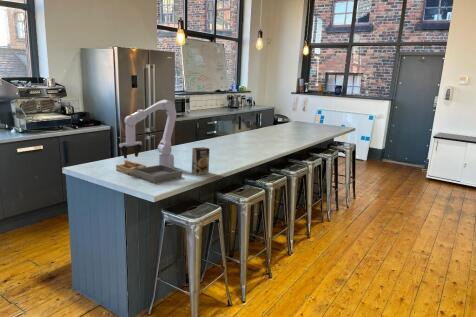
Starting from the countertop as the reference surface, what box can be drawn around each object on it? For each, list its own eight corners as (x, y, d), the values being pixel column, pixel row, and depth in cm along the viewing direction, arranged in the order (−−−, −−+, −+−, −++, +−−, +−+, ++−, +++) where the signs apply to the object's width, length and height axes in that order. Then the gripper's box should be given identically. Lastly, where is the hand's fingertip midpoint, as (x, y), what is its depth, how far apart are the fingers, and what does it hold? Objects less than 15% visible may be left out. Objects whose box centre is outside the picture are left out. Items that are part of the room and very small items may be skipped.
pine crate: (134, 167, 236) (134, 158, 235) (146, 171, 227) (146, 162, 226) (116, 170, 226) (116, 161, 225) (127, 174, 218) (127, 165, 217)
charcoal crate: (161, 170, 231) (161, 164, 230) (181, 177, 218) (181, 170, 217) (134, 175, 216) (133, 169, 215) (153, 183, 203) (153, 176, 202)
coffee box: (196, 175, 224) (197, 149, 220) (191, 172, 229) (191, 147, 225) (209, 173, 229) (209, 148, 225) (203, 171, 234) (204, 146, 230)
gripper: (137, 133, 230) (137, 154, 233) (116, 135, 219) (116, 157, 222) (143, 135, 225) (143, 156, 228) (122, 137, 215) (123, 159, 218)
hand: (130, 157), depth 225 cm, fingers open, 7 cm apart
